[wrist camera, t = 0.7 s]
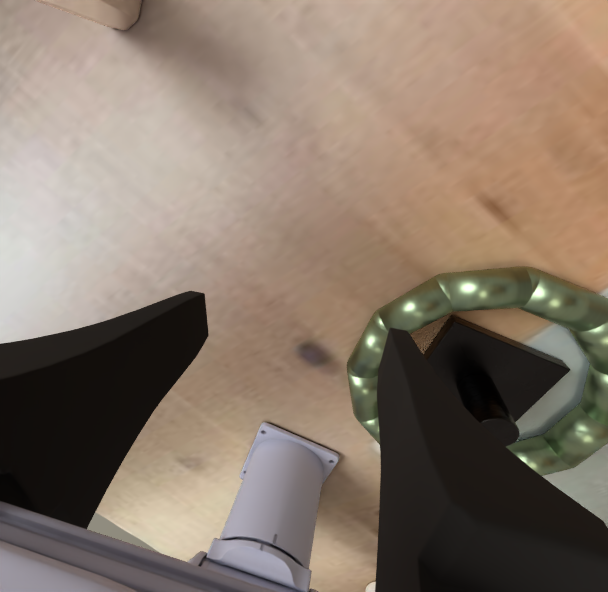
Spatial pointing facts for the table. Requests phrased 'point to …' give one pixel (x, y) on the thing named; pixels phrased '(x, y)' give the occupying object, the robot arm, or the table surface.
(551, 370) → the stand
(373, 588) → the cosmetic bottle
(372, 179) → the table surface
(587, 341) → the hoop
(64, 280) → the table surface
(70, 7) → the milkshake
